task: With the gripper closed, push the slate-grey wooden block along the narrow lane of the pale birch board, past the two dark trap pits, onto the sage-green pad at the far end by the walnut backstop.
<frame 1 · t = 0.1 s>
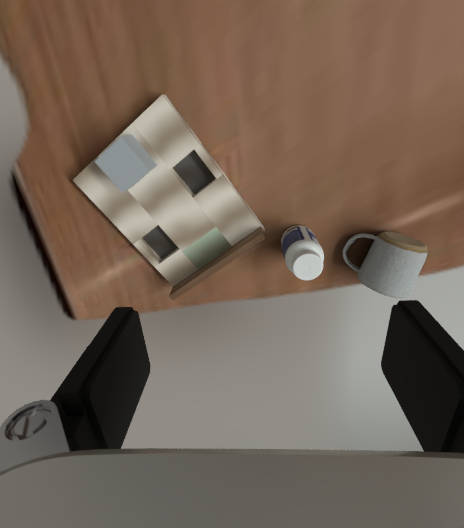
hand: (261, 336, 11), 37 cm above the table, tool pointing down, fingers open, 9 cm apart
pill bottle: (297, 239, 49), on the table
block: (132, 161, 43), point 2 cm above the table, touching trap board
ceramic mug: (373, 252, 50), on the table
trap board: (173, 202, 48), on the table
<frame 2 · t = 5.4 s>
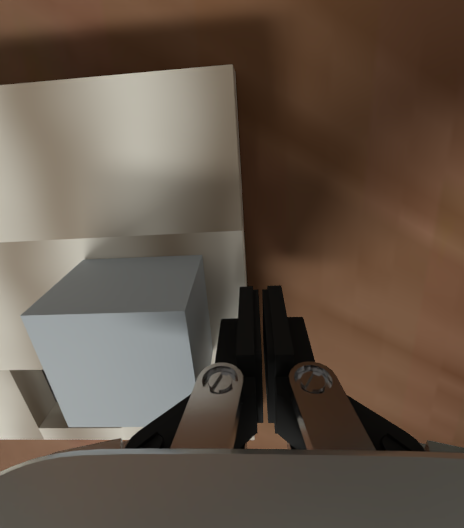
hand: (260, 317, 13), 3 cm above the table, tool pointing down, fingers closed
block: (152, 308, 14), point 2 cm above the table
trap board: (28, 291, 16), on the table
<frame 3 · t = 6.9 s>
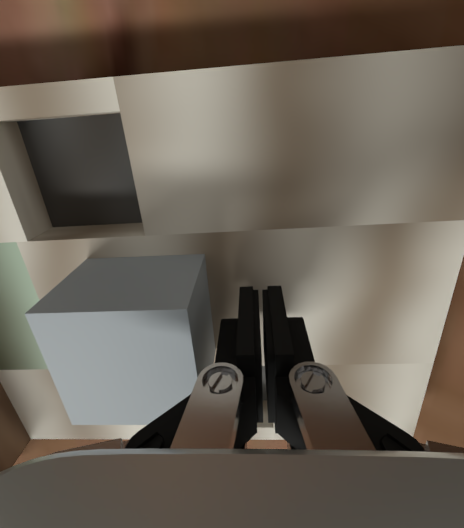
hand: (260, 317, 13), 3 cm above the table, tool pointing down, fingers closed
block: (155, 306, 14), point 2 cm above the table, touching gripper
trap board: (189, 285, 16), on the table
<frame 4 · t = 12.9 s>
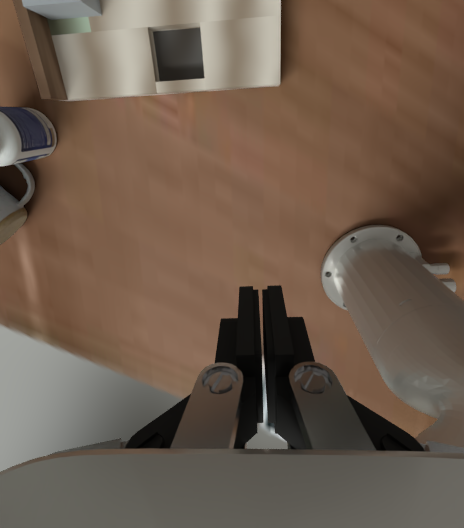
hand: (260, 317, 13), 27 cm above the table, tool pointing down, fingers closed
pill bottle: (36, 133, 36), on the table
ceramic mug: (4, 191, 39), on the table
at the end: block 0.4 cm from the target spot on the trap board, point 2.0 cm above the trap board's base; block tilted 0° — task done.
